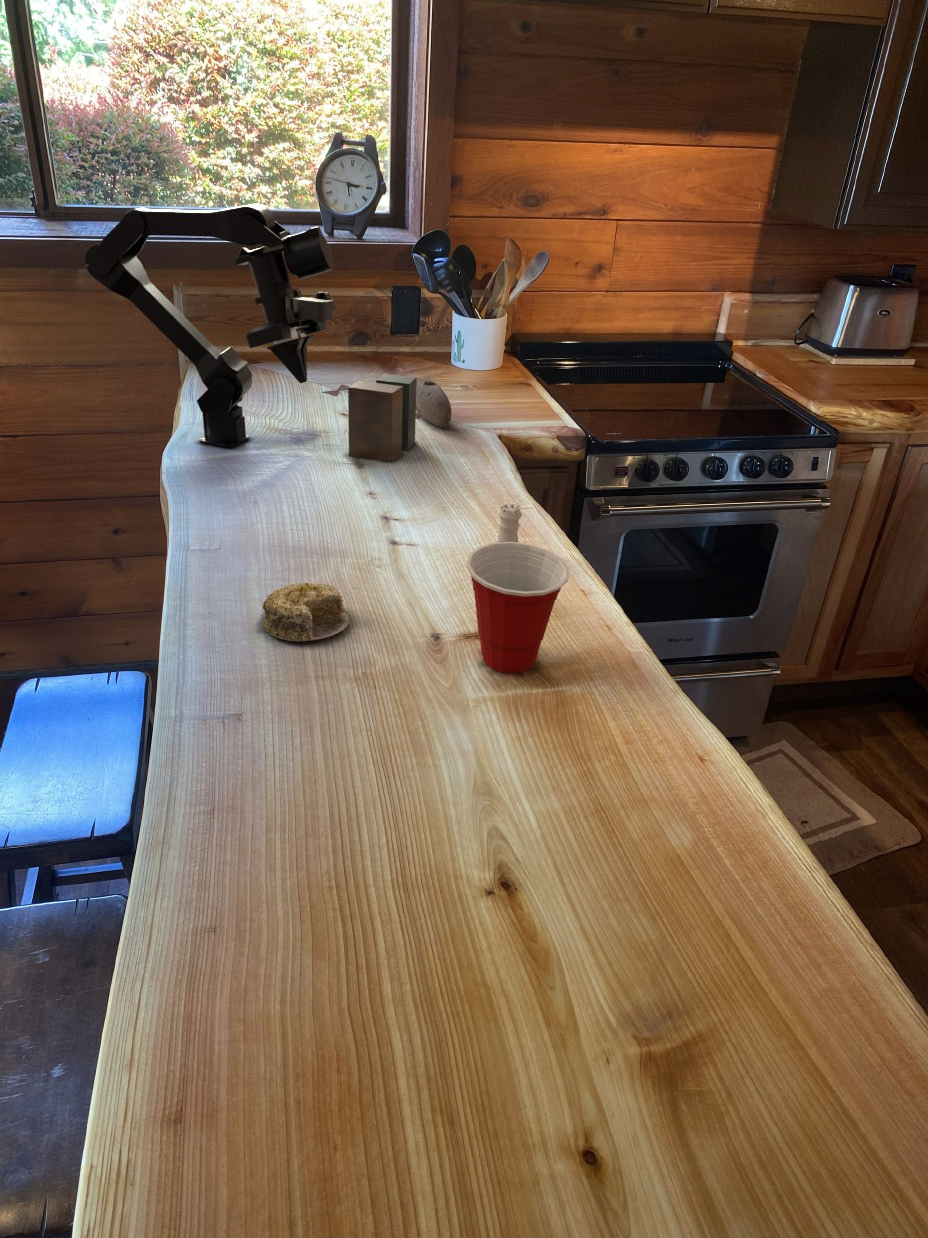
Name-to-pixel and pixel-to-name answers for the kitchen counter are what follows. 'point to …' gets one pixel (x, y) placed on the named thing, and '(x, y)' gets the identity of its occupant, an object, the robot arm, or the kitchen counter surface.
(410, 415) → the slate block
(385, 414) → the walnut block
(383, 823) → the kitchen counter surface
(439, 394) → the perforated stone tool
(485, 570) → the plastic cup
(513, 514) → the rook chess piece
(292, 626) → the cake
